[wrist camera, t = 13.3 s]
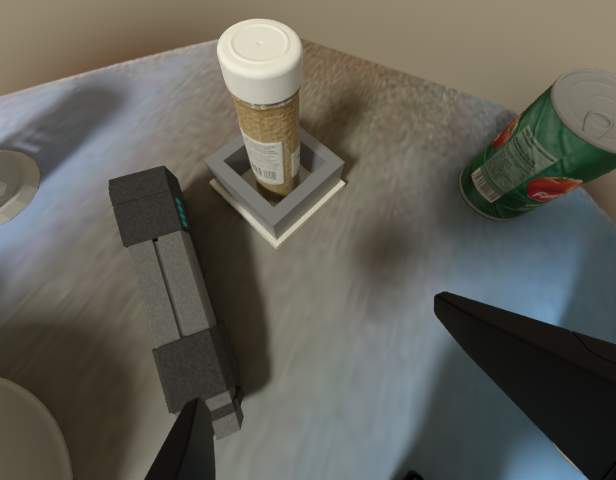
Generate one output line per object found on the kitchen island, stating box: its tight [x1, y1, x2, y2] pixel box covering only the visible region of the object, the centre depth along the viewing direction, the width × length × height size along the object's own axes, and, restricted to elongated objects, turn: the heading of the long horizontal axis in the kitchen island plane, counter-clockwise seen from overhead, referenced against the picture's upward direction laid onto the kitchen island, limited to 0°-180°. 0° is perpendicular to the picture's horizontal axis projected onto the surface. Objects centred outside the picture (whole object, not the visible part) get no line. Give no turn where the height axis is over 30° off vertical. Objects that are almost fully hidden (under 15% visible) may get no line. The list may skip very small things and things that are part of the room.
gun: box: [108, 166, 244, 440], centre depth 21 cm, size 4×20×10 cm, turn 21°
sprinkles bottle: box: [217, 19, 303, 202], centre depth 19 cm, size 5×5×14 cm
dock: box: [204, 126, 345, 250], centre depth 24 cm, size 10×10×4 cm
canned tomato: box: [459, 68, 616, 221], centre depth 22 cm, size 8×8×11 cm
